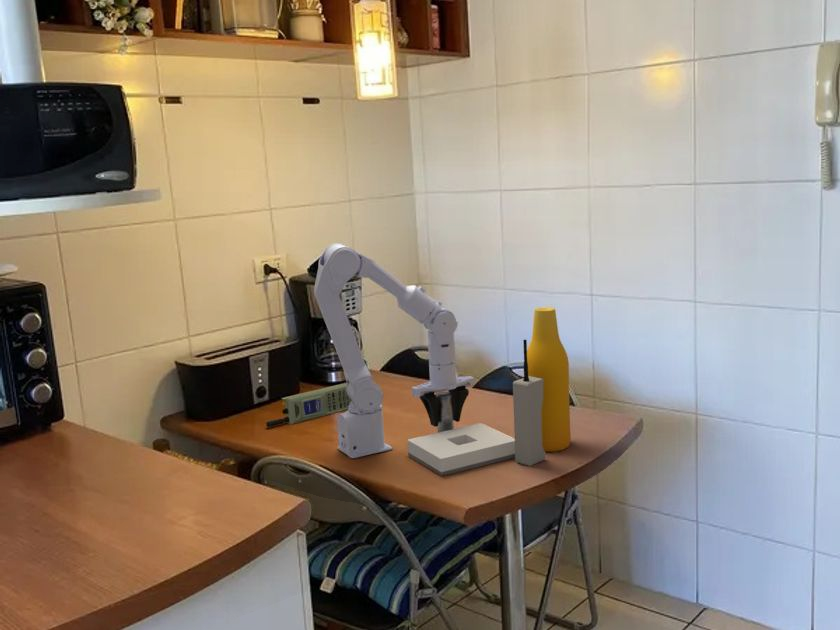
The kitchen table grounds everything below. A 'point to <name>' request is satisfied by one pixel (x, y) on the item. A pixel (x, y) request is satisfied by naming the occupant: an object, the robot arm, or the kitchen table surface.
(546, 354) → the beer bottle
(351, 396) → the robot arm
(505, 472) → the kitchen table surface
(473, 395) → the kitchen table surface
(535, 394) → the vintage mobile phone
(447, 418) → the steel pin
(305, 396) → the handheld radio
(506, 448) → the grey hole plate
